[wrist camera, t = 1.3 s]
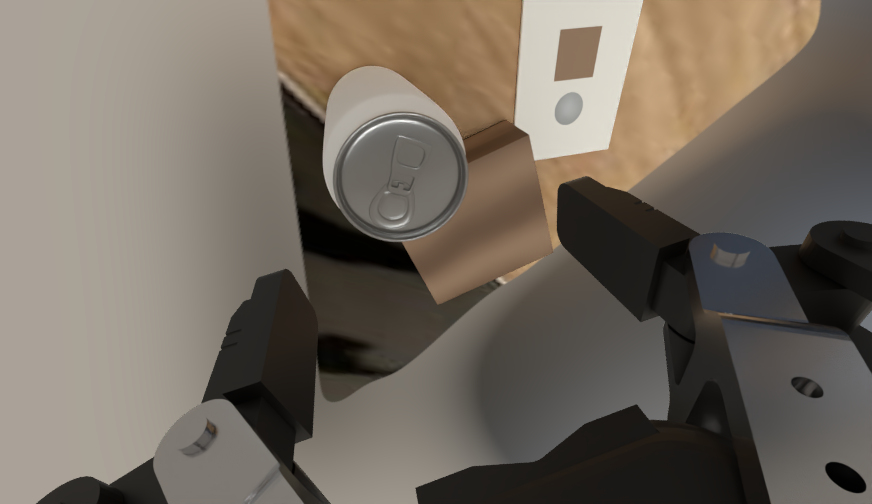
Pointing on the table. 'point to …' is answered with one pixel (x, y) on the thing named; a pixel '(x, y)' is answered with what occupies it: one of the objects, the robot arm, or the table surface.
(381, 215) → the can
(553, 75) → the page
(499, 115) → the table surface
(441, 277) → the base block
